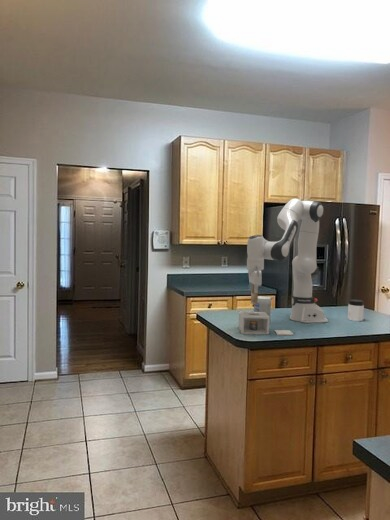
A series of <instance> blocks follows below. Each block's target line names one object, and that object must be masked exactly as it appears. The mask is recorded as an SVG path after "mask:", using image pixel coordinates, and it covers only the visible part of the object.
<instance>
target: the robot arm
mask: <svg viewBox="0 0 390 520" xmlns="http://www.w3.org/2000/svg"><path fill="white" fill-rule="evenodd" d="M324 210H325V209H324V205H323V203H321V202H320V201H315V200H314V201H312V200H301V199H299V198H291V199H290V200H288V201H287V202H286V204H285V205H284V206H283V207H282V208H281V210H280V212H279V213H278V215H277V218H276V220H277V225H278V226H279V227H280V229H282V230H284V232H283V235H282V237H281V239H280V240H278V241H269V240H268V239H266V238H264V236H263V235H262V234H261V235H260V234H256V235H250V236H249V237H248V239H247V243H246V253H247V258H246V270H248V271H247V272H248V273H247V274H248V281H249V282H250V283H252V284H254V293H258V294H259V287H261V286H262V283H263V282H262V280H263V279H262V278H263V277H262V275H263V273H262V271H264V269H265V260H270V261H271V260H272V261H279V262H283V261H286V259H287V258H288V257H289V254H290V250H291V247H292V245H293V241H294V239H295V237H296V234H297V233H298V240H297V255H296V256H295V257H294V258H293V259H292V261H291V266H292V279H293V290H292V291H293V292H292V297H291V305H292V307H291V312H290V316H289V320H292V321H295V322H301V323H304V324H305V323H307V324H308V323H310V324H311V323H315V324H316V323H328V322H329V319H328V318H327V317H326V316H325V312H324V310H323V308H321V307H320V306H319V305H317V303H316V302H318V298H315V297H313V285H314V284H313V280H312V274H313V273H314V272H316V270H317V267H318V265H317V246H318V240H319V233H320V219H321V218H322V217H323V216H324ZM300 220H301V224H300V227H299V224H298V222H299V221H300ZM298 230H299V232H298Z"/></svg>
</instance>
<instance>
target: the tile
mask: <svg viewBox="0 0 390 520" xmlns="http://www.w3.org/2000/svg"><path fill="white" fill-rule="evenodd" d="M274 333H275V334H276V336H290V337H291V336H293V337H294V333H293V332H292V331H291V330H290V329H289V330H288V329H287V330H286V329H274Z"/></svg>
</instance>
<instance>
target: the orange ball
mask: <svg viewBox="0 0 390 520" xmlns="http://www.w3.org/2000/svg"><path fill="white" fill-rule="evenodd" d="M250 330H257V321H250Z"/></svg>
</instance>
